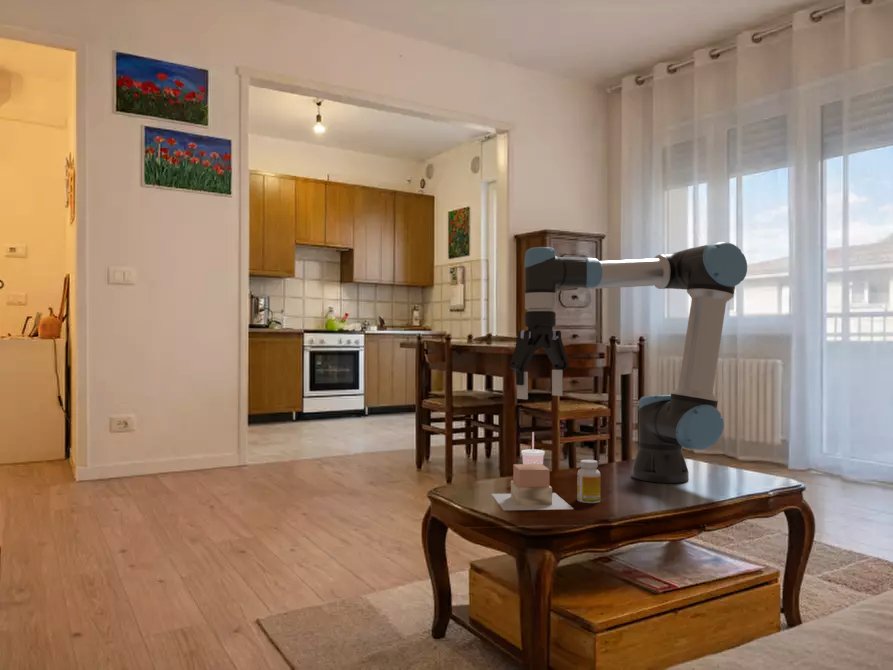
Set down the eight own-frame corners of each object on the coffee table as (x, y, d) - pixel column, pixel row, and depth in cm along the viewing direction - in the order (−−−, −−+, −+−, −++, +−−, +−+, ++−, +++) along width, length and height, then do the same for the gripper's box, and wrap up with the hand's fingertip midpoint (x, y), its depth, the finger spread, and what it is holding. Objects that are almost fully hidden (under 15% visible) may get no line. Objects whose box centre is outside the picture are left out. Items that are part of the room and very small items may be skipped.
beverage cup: (546, 487, 174) (546, 433, 174) (522, 487, 174) (523, 433, 174) (542, 482, 180) (543, 430, 180) (519, 482, 180) (520, 430, 180)
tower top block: (541, 480, 161) (542, 464, 161) (549, 487, 154) (549, 469, 154) (513, 481, 161) (513, 464, 161) (519, 487, 154) (519, 470, 154)
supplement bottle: (605, 502, 158) (605, 461, 158) (588, 505, 155) (589, 463, 155) (588, 498, 163) (589, 458, 163) (572, 501, 160) (572, 460, 160)
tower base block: (543, 496, 162) (543, 480, 162) (552, 504, 154) (552, 487, 154) (510, 497, 161) (510, 480, 161) (517, 505, 153) (517, 487, 153)
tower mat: (555, 494, 166) (555, 492, 166) (574, 510, 150) (574, 509, 150) (491, 495, 164) (491, 493, 164) (503, 512, 149) (503, 510, 149)
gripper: (558, 312, 176) (558, 393, 176) (494, 309, 159) (494, 399, 159) (582, 311, 171) (582, 395, 170) (518, 308, 153) (519, 401, 153)
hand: (540, 397), depth 165 cm, fingers open, 13 cm apart
